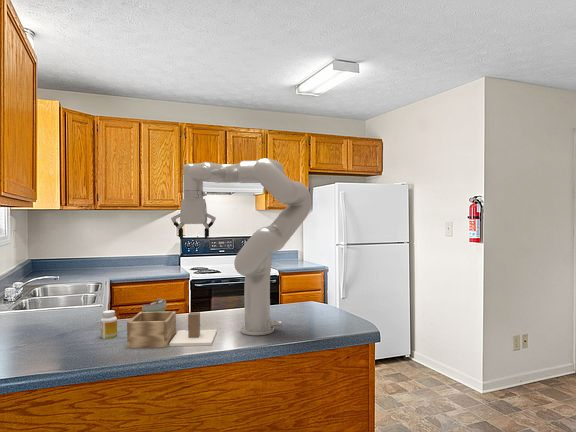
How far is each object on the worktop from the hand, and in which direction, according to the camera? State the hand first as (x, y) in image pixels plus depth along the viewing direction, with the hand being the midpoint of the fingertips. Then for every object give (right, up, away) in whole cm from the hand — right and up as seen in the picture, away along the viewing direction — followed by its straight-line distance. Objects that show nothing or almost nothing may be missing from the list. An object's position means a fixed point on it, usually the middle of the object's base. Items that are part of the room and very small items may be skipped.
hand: (193, 238), depth 171 cm
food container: (-14, -35, -2) cm, 37 cm away
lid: (+4, -34, -19) cm, 39 cm away
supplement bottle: (-27, -35, -15) cm, 47 cm away
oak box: (-10, -35, -21) cm, 42 cm away
